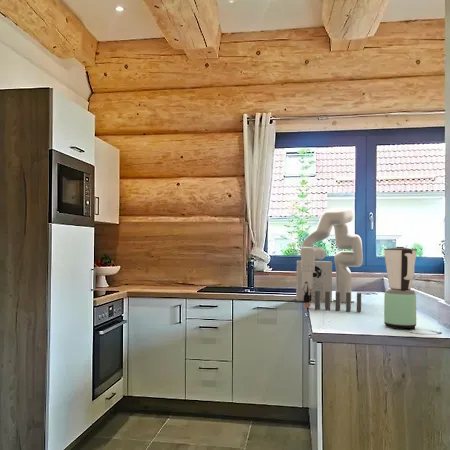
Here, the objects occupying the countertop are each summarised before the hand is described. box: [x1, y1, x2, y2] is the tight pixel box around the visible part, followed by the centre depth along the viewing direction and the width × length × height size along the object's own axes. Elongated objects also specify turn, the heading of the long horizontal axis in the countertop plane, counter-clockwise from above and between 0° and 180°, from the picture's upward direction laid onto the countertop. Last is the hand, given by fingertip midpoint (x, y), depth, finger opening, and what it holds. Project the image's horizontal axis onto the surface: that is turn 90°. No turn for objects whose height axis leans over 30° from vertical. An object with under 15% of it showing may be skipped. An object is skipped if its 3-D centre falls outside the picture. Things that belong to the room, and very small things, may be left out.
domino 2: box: [314, 290, 321, 311], centre depth 251 cm, size 5×2×10 cm, turn 160°
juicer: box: [383, 246, 418, 331], centre depth 197 cm, size 19×13×35 cm
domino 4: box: [334, 291, 341, 312], centre depth 247 cm, size 5×2×10 cm, turn 160°
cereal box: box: [295, 260, 333, 303], centre depth 290 cm, size 22×8×25 cm, turn 84°
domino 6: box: [356, 291, 362, 313], centre depth 243 cm, size 5×2×10 cm, turn 160°
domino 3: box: [324, 291, 331, 311], centre depth 249 cm, size 5×2×10 cm, turn 160°
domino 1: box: [304, 289, 311, 309], centre depth 253 cm, size 5×2×10 cm, turn 160°
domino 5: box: [345, 291, 352, 313], centre depth 245 cm, size 5×2×10 cm, turn 160°
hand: (307, 301), depth 253 cm, fingers closed on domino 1, 4 cm apart
